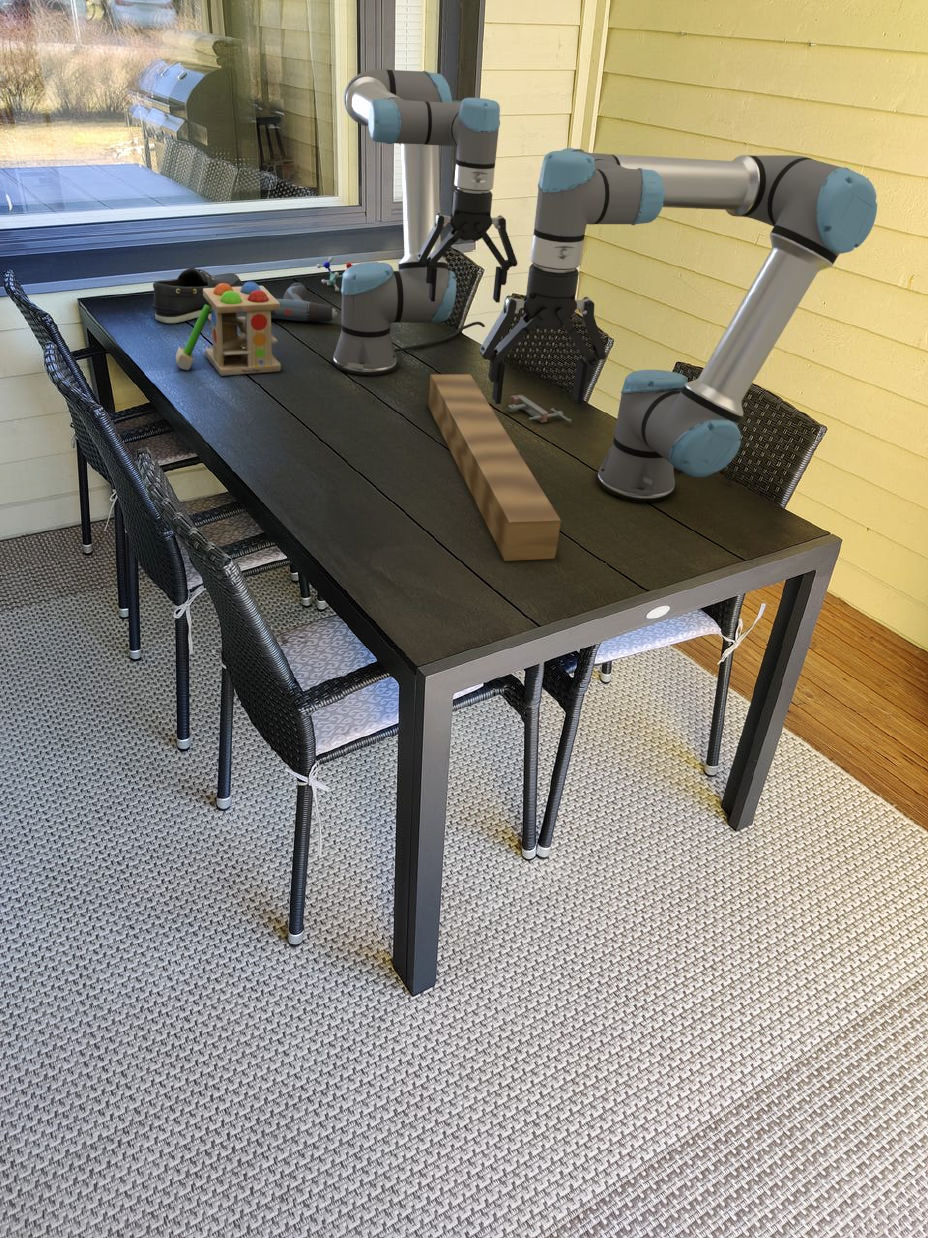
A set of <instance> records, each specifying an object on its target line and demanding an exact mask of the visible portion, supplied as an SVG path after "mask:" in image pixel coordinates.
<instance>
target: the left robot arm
mask: <svg viewBox="0 0 928 1238" xmlns="http://www.w3.org/2000/svg"><path fill="white" fill-rule="evenodd" d="M451 93H452V92H451V89H450V85H449V83H448V82H447V79H446V78H445V77H444V76H443V75H442V74H440V73H438V72H429V71H426V70H422V71H421V70H401V69H400V70H399V69H387V68H386V69H385V68H374V69H368V70H365V71H362V72H361V73H359V74H356V75H355V76H354V77H353V78H351V80H350V81H349V82H348V84H347V85H346V87H345V90H344V95H343V103H344V107H345V110H346V113H347V114H348V115H349V117H350V118H351V120H353V121H354V122H356V123H357V124H359V125H361V126H364V127H368V133H369V136H370V139H371V140H372V141H373V142H375V143H382V144H386V145H392V144H399V145H400V159H401V161H400V163H401V189H402V190H401V191H402V193H401V194H402V215H403V216H402V221H403V223H402V225H403V252H404V253H403V254H404V256H403V257H402V258H401V259H400V260H399V262H398V263H397V264H398V265H397V266H398V270H394V268H393V266H392V265H391V264H389V263H386V262H378V261H367V262H360V263H357V264H352V265H353V266H351V267H349V268H348V269H347V268H346V269H345V270H344V272H343V273H344V274H343V273H342V274H343V277H341V278H342V280H341V287H340V293H341V320H340V321H341V324H340V325H341V326H340V329H341V330H340V336H339V338H338V341H337V344H336V348H335V350H334V352H333V361H332V362H333V363H332V364H333V366H334V367H335V368H337V369H338V370H339V371H342V372H344V373H347V374H352V375H356V376H380V375H381V376H382V375H386V374H389V373H391V372H393V371H395V369H396V368H397V361H398V359H397V354H396V353H399V352H405V351H410V350H415V349H420V348H425V347H430V346H433V345H437V344H440V343H443V342H446V341H448V340H450V339H451V340H452V339H453V338H455V337H456V336H457V335H458V334H460V332H462V331H463V330H465V329H468V328H469V329H470V327H473V326H481V327H482V328H486V325H485V324H484V323H483V322H481V321H474V322H470V323H468V324H466V325H463V326H460V327H459V328H458V329H456V331H455V332H453V333H451V334H450V335H448V336H444V337H442V338H440V339H439V338H438V339H436V340H432V341H429V342H425V343H424V342H423V343H420V344H414V345H410V346H404V347H398V348H395V347H394V343H393V341H392V337H391V336H392V335H391V324H392V323H393V324H396V323H399V324H400V323H401V324H402V323H403V324H407V323H408V324H409V323H411V324H412V323H414V324H415V323H416V324H417V323H422V324H423V323H426V324H432V323H443V322H445V321H447V320H448V319H449V318H450V317H451V314H452V313H453V309H454V306H455V303H456V296H457V280H456V277H457V276H456V274H455V273H454V271H452V270H450V269H449V270H448V268H449V267H448V261H447V260H446V259H445V258H444V257H443V256H444V255H445V254H446V253H447V252H448V251H449V250H450V249H451V247H452V246H453V245H454V244H455V243H457V242H458V241H459V240H462V241H464V242H466V241H474V242H478V241H479V240H481V239H482V240H483V242H484V243H485V245H486V246H487V248H488V249H489V251H490V252H491V254H492V255H493V257H494V258H495V259H496V261H497V263H498V264H499V265H500V266H495V274H494V275H495V276H494V282H493V283H494V284H493V295H492V300H494V302H495V303H497V304H499V303H501V295H502V292H501V291H502V286H506V285H507V281H508V279H507V278H508V272H509V270H510V268H512V267H513V268H514V267H515V268H516V267H517V266H518V260H517V257H516V254H515V251H514V249H513V246H512V243H511V240H510V237H509V235H508V232H507V219H506V217H504V216H503V215H501V214H500V215H498V216H496V217H492V206H493V205H492V203H493V195H494V194H493V193H492V191H491V190H493V189H494V183H495V171H496V170H495V169H496V162H497V161H496V159H497V151H498V140H499V130H500V126H501V120H500V118H501V117H500V116H501V115H500V114H501V106H500V104H499V102H497V101H496V100H493V99H489V98H482V97H465V98H464V99H462V100H452V94H451ZM439 146H442V147H444V146H445V147H456V156H455V159H456V160H455V171H454V182H453V183H454V184H453V185H454V186H455V187H456V188H454V190H453V197H452V198H453V199H452V211H451V214H450V215H446V214H445V215H444V214H442V213H441V207H440V206H441V205H440V171H439V169H440V167H439V166H440V165H439ZM448 224H449V225H450V226H451V227H452V228H451V229H450V231H449V232H448V233H447V234H446V237H445V238H444V239H443V240H441V234H442V231H443V229H444V228H447V225H448ZM492 225H493V226H494V228H495V229H496V230H497V232H498V235H499V238H500V241H501V243H502V246H503V249H504V252H505V255H506V257H507V259H505V258H504V256H503V255H502V254H501V252H500V251H499V249H498V247H497V246H496V245H495V243H494V242H493V240H492V238H491V237H490V235H489V234H488V231H489V229H490V228H491V227H492Z"/></svg>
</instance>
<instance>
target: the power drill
mask: <svg viewBox="0 0 928 1238" xmlns="http://www.w3.org/2000/svg"><path fill="white" fill-rule="evenodd" d="M307 295H308V290H307V287H306V285H304V284H303V283H301V282H293V283H292V284H291V285H290V286H289V287H288V288H287V289H286V291H285V292H284V294H283V297H282V298H275V299H276V300H277V301H278V302H279V303H280V310H271V319H274V320H275V319H276V320H283V321H294V322H295V321H297V322H332V321H333V320H334V319H336V318H337V317H338V312H337V311H336V308H334V307H333V306H332V305H331V304H324V303H317V302H313V301H307V300H305V299H306V297H307Z"/></svg>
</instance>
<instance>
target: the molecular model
mask: <svg viewBox="0 0 928 1238" xmlns="http://www.w3.org/2000/svg"><path fill="white" fill-rule="evenodd" d="M333 260H334V258H333V257H332V256H330V257H328V261H325V262H324V264H320V263H317V264H316V268H317V269H320V268H325V269H327V270H328V272H329V274H330V275H329V279H321V283H322V284H327V286H329V287H330V286H332V285H333V287H334V291H335V292H337V293H338V292H339V291H340V287H339V286H337V284H336V283H337V282H336V279H339V278H340V279H341V278H343V274H344V272H343V273H342V274H341V275H339V274H340V273H339V272H338V271H336V272H334V273H333V272H332V270H331V264H330V263H332V262H333ZM353 265H354V264H352V263H351V262H347V263H346V264H345V266H346V269H348V268H349V267H351V266H353Z"/></svg>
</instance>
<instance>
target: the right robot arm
mask: <svg viewBox="0 0 928 1238" xmlns="http://www.w3.org/2000/svg"><path fill="white" fill-rule="evenodd" d="M535 207H536V208H535V218H534V228H533V235H532V241H531V242H532V243H531V249H530V257H529V260H530V262H531V263H532V264H530V266H528V274H527V275H528V276H527V284H526V293H525V296H524V298H523V299H522V298H516V297H515V298H514V297H513V296H512V295H506V296H505V298H504V303H503V306H502V310H501V312H500V314H499V315H498V317H497V318H496V320H495V322H494V323H493V325H492V327H491V329H490V331H489V332H488V334H487V335H486V337H485V339H484V340H483V342H482V344H481V345H480V348H479V350H478V352H479V354H480V356H481V357H482V359H483V360H487V361H489V367H488V379H489V381H490V382H491V383H493V386H492V394H491V398H492V400H493V401H494V403H495V404H496V405H501V404H502V398H503V397H502V396H503V387H504V378H505V370H506V363H505V362H504V361H503V360H504V359H505V358H506V357H507V356H508V354H509V353H510V352H511V351H512V350H513V349H514V348H515V347H516V346H517V345H518V344H519V343H520V342H521V341H522V340H523V339H524V338H525V337H526V335H528V334H529V333H531V332H533V331H534V329H537V330H541V331H542V330H543V331H544V330H547V329H548V330H549V329H550V330H553V331H558V330H559V329H560V328H562V327H563V329H564V331H565V332H566V333H567V335H568V337H569V338H570V339H571V341H572V343H573V344H574V346H575V347H576V349H577V350H578V352H579V353H580V355H581V356H582V358H577V363H576V368H575V375H574V382H573V387H572V393H571V398H572V399H573V401H574V402H575V403H576V405H577V404H579V405H581V404H582V402H583V397H584V391H585V384H586V383H590V381H591V379H592V374H593V367H594V366H595V365H596V364H597V361H600V360H601V361H604V360H605V359H606V358H607V353H606V349H605V347H604V343H603V340H602V337H601V334H600V331H599V328H598V324H597V321H596V317H595V303H594V302H593V300H591V298H589V296H584V297H583V298H582V299H576V295H577V289H578V283H579V277H580V271H579V270H578V268H579V267H580V266H581V262H582V261H581V260H582V254H583V248H584V240H585V235H586V230H587V225H631V226H635V225H642V224H650V223H653V222H654V221H655V220H656V219H657V218H658V217H659V215H660V214H661V211H662V210H663V208H667V209H668V208H669V209H671V208H673V209H696V210H697V209H698V210H699V209H700V210H703V209H704V210H724V211H725V212H726V213H727V214H728V215H729V216H731V217H737V218H739V217H740V218H741V217H742V218H748V219H752V220H755V221H758V222H761V223H763V224H766V225H769V226H771V227H772V230H771V231H770V233H769V240H770V244H771V249H770V252H769V253H768V255H767V256H766V258H765V260H764V261H763V264H762V265H761V267H760V269H759V271H758V273H757V274H756V276H755V277H754V279H753V281H752V283H751V285H750V286H749V288H748V290H747V292H746V293H745V295H744V297H743V299H742V301H741V303H740V304H739V306H738V307H737V309H736V311H735V312H734V315H733V316H732V318H731V320H730V322H729V324H728V325H727V326H726V329H725V331H724V332H723V334H722V336H721V338H720V339H719V341H718V343H717V344H716V346H715V348H714V350H713V352H712V353H711V355H710V357H709V359H708V360H707V361H706V364H705V365H704V367H703V369H702V371H701V373H700V375H699V376H698V377H697V378H696V379H694V380H692V381H688V378H687V376H685V375H683V374H681V373H678V372H675V371H671V370H670V371H669V370H664V369H639V370H635V371H632V372H630V373H629V374H628V375H627V376H626V377H625V378H624V381H623V384H622V389H621V391H620V400H619V407H618V413H617V418H616V423H615V429H614V434H613V440H612V445H611V446H610V449H609V450H608V452H607V454H606V456H605V457H604V459H603V461H602V462H601V464H600V466H599V469H598V472H597V477H596V483H597V485H598V486H599V488H600V489H602V490H603V491H604V492H605V493H607V494H609V495H611V496H613V497H615V498H618V499H620V500H624V501H628V502H634V503H641V504H642V503H643V504H644V503H646V504H648V503H649V504H651V503H660V502H663V501H666V500H667V499H669V498H671V497H672V496H673V494H674V490H675V486H676V478H675V473H674V472H675V471H681V472H683V473H684V474H685V475H688V476H689V477H693V478H705V477H710V476H711V475H713V474H716V473H719V472H720V471H723V469H724V468H726V467H727V466H728V465H729V464H730V463H731V462H732V461H733V459H734V458H736V455H737V453H739V452H738V451H739V450H740V447H741V443H742V442H741V437H742V435H741V431H740V429H739V427H738V425H739V423H740V422H741V420H742V418H743V417H744V410H743V405H742V401H743V400H744V398H745V396H746V395H747V393H748V391H749V389H750V387H751V386H752V384H753V382H754V381H755V379H756V377H757V376H758V374H759V373H760V371H761V369H762V367H763V366H764V364H765V363H766V360H767V359H768V357H769V355H770V354H771V353H772V351H773V350H774V347H775V345H776V344H777V342H778V341H779V339H780V337H781V335H783V332H784V330H785V329H786V327H787V326H788V324H789V322H790V320H791V318H792V317H793V315H794V313H795V312H796V310H797V309H798V306H799V305H800V303H801V302H802V300H803V298H804V297H805V295H806V293H807V291H808V290H809V288H810V286H811V285H812V283H813V281H814V280H815V278H816V277H817V274H818V273H819V272H821V271H824V270H827V269H829V268H832V267H833V266H834V264H835V262H836V260H837V259H838V257H839V256H840V254H841V255H842V254H846V253H850V252H852V251H854V250H855V248H859V247H860V246H861V245H862V244H863V243H864V242H865V241H866V240H867V238H868V236H870V233H871V231H872V229H873V227H874V224H875V221H876V218H877V214H878V213H877V212H878V202H877V192H876V189H875V186H874V184H873V183H872V181H870V179H869V178H868V177H867V176H865V175H863V174H861V173H859V172H856V171H854V170H852V169H850V168H848V167H845V166H843V167H842V166H839V165H834V164H831V163H828V162H825V161H824V162H823V161H820V160H817V159H813V158H811V157H808V156H803V155H796V154H795V155H791V154H790V155H787V154H786V155H785V154H784V155H783V154H781V155H779V154H778V155H777V154H776V155H775V154H774V155H773V154H771V155H765V154H764V155H761V154H760V155H750V154H749V155H748V154H741V155H738V156H736V157H735V158H734V159H732V160H720V159H719V160H718V159H705V158H703V159H702V158H686V157H685V158H684V157H671V156H670V157H668V156H667V157H666V156H651V155H650V156H649V155H635V154H634V155H632V154H615V153H613V154H608V153H597V152H587V151H584V149H582V148H574V147H567V148H563V149H561V150H552V151H549V152H548V153H546V154H545V155H544V157H543V159H542V164H541V167H540V174H539V179H538V183H537V198H536V206H535ZM521 309H523V311H524V312H525V313H524V315H522V317H521V318H520V319H519V321H518V322H517V324H516V325H515V326H514V327H513V328H512V329H511V330H510V331H509V332H508V333H507V334H506V335H505V333H506V331H507V330H508V328H509V326H510V325H511V323H512V321H513V319H514V317H515V315H517V314H518V313H519V311H520V310H521ZM577 310H578V312H579V314H580V315H581V316H582V319H583V323H584V325H585V328H586V331H587V335H588V338H589V341H590V344H591V347H592V350H590V349H589V347H588V346H587V344H586V343H585V341H584V340H583V338H582V337H581V335H580V334H579V332H578V331H577V329H576V327H575V325H574V324H573V323H572V321H571V320H570V318H571V317H572V315H573V314H574V313H575V312H576V311H577ZM504 335H505V337H504ZM503 337H504V338H503ZM674 470H675V471H674Z"/></svg>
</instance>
